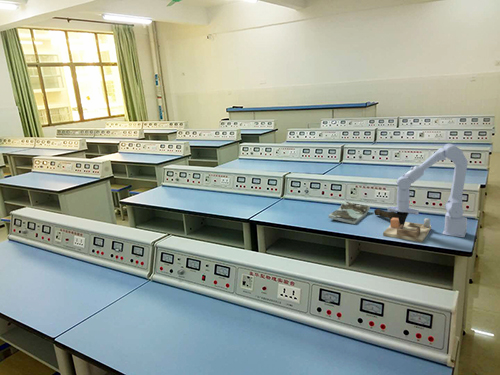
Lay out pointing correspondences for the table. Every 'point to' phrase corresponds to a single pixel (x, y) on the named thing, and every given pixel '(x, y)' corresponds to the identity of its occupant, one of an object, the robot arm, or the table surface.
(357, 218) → the topographical model
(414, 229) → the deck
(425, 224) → the grey peg
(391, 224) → the terracotta block
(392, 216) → the hand tool
